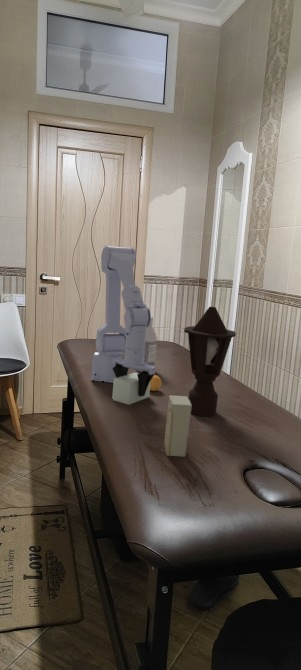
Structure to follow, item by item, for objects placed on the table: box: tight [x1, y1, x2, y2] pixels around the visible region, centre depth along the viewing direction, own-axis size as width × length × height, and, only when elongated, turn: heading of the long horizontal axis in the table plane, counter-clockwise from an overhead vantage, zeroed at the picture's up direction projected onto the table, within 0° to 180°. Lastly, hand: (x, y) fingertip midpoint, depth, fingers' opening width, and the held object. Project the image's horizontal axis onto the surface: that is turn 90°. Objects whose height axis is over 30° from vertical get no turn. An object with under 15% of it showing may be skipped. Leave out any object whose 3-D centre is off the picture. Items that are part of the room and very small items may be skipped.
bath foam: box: [136, 316, 158, 373], centre depth 173 cm, size 7×7×20 cm
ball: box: [150, 374, 162, 391], centre depth 150 cm, size 5×5×5 cm
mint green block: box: [111, 372, 151, 405], centre depth 140 cm, size 10×6×6 cm, turn 146°
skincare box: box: [163, 394, 192, 458], centre depth 105 cm, size 6×4×12 cm
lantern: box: [184, 306, 237, 418], centre depth 132 cm, size 15×15×30 cm
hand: (131, 392), depth 141 cm, fingers open, 7 cm apart
